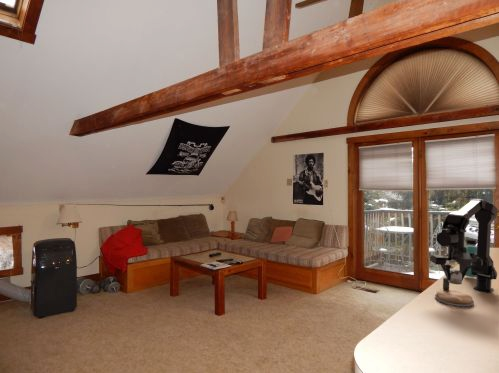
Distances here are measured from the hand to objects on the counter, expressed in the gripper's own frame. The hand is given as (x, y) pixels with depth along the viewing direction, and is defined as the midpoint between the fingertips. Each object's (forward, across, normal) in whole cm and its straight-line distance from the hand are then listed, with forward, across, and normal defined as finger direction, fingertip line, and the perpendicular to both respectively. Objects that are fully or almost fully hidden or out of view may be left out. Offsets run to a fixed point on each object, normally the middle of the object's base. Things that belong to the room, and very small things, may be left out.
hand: (454, 280), depth 143 cm
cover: (+1, 0, 0) cm, 1 cm away
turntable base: (+9, 0, 0) cm, 9 cm away
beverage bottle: (+9, +26, +32) cm, 42 cm away
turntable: (+8, 0, +1) cm, 8 cm away
